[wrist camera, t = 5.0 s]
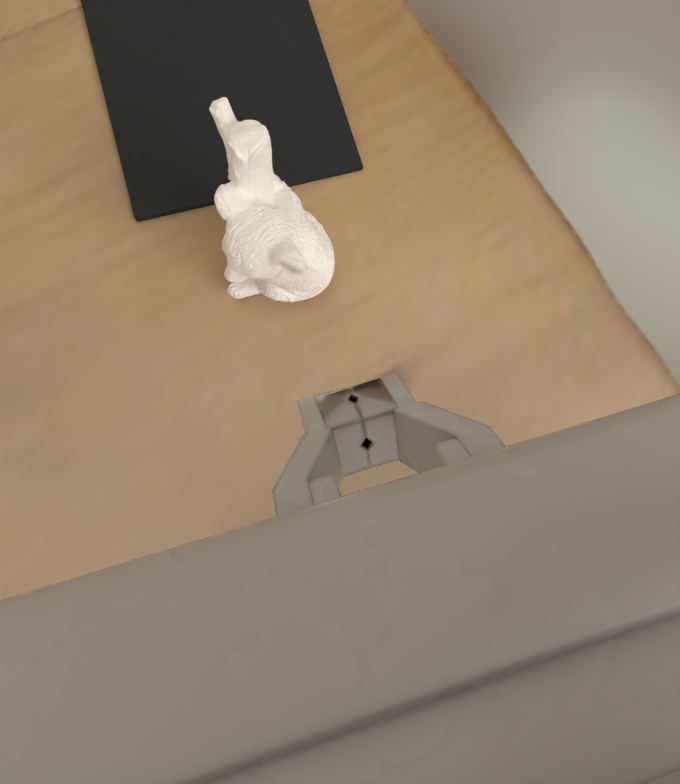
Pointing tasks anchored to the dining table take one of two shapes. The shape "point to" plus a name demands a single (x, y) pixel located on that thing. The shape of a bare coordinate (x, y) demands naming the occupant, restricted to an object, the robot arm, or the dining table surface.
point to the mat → (214, 93)
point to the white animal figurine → (266, 220)
